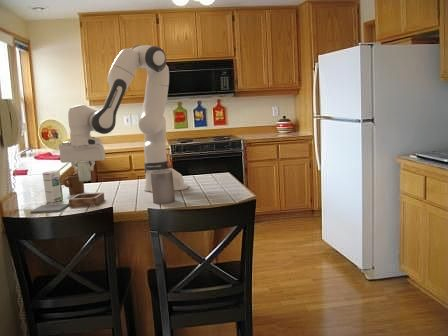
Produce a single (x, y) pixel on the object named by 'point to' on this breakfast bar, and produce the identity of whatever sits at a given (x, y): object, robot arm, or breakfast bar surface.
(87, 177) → the jug
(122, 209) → the breakfast bar surface
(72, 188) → the mug
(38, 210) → the charcoal mat
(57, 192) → the syrup box
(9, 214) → the breakfast bar surface
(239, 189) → the breakfast bar surface
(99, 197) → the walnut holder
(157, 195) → the pillar candle
